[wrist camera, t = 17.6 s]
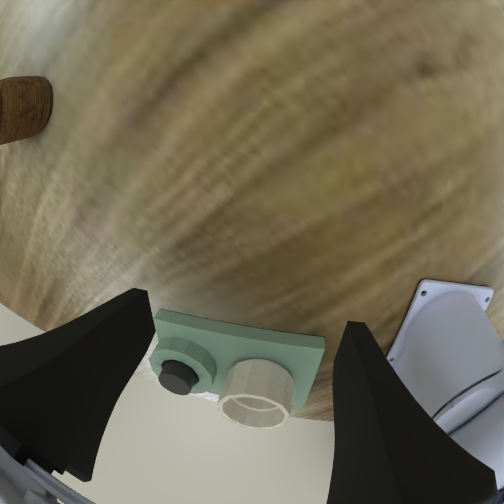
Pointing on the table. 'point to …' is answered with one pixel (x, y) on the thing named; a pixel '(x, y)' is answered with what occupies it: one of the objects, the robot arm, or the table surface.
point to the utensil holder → (23, 107)
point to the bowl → (257, 394)
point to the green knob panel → (233, 351)
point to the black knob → (177, 377)
